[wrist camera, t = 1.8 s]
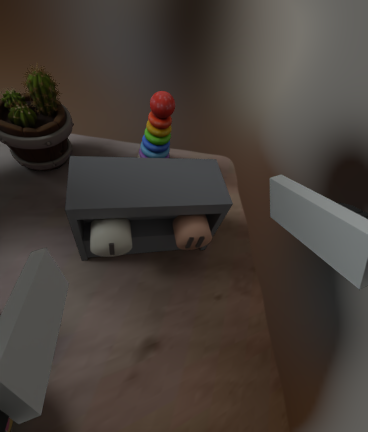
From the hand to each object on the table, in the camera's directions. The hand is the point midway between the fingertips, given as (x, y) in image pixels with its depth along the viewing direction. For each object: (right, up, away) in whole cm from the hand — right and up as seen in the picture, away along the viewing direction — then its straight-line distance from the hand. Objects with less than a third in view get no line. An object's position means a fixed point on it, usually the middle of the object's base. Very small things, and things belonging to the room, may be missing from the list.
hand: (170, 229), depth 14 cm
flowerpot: (-32, +15, +42) cm, 55 cm away
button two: (+2, -4, +29) cm, 29 cm away
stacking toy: (-7, +14, +48) cm, 51 cm away
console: (-7, -3, +36) cm, 37 cm away
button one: (-11, -4, +25) cm, 28 cm away
